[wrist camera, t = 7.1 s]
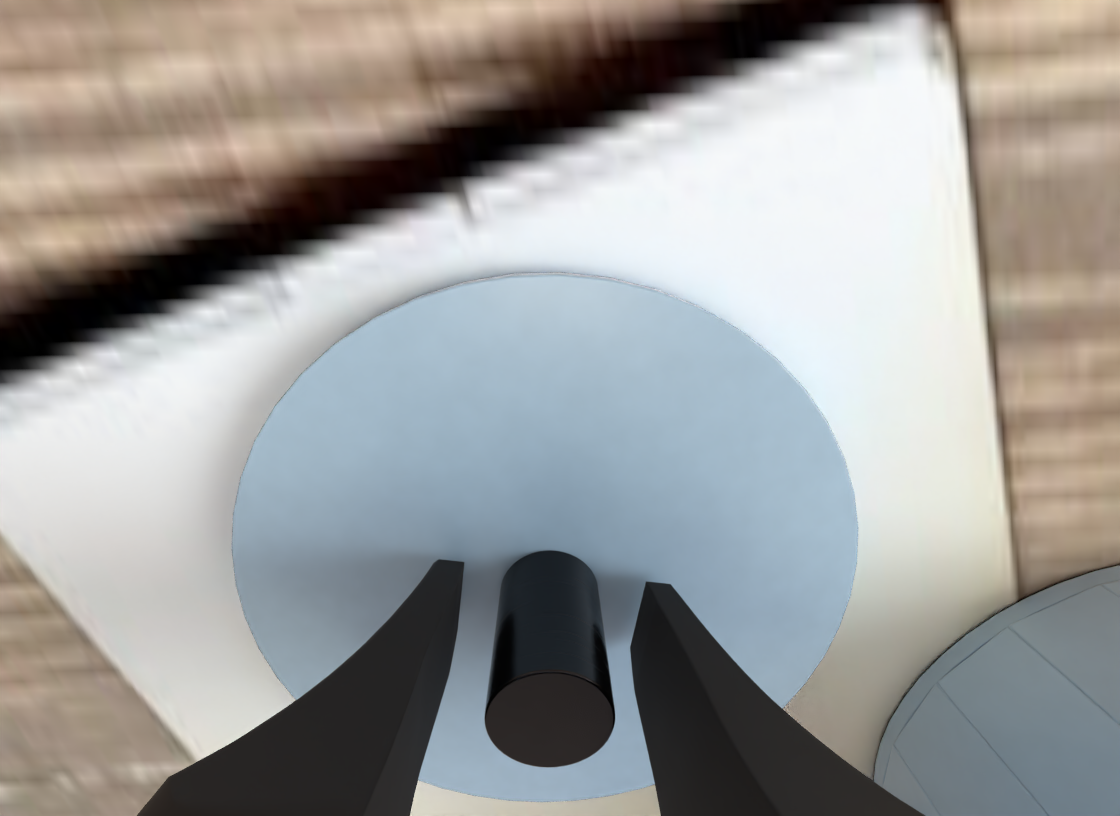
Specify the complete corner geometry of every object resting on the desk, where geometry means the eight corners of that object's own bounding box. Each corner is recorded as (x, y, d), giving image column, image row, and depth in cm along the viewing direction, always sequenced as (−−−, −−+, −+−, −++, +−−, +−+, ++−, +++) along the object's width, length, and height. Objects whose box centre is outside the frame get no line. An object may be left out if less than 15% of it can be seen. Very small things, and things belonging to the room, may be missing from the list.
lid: (538, 833, 18) (536, 1039, 13) (134, 555, 14) (-64, 716, 9) (942, 570, 14) (1117, 726, 10) (567, 105, 10) (582, 19, 6)
